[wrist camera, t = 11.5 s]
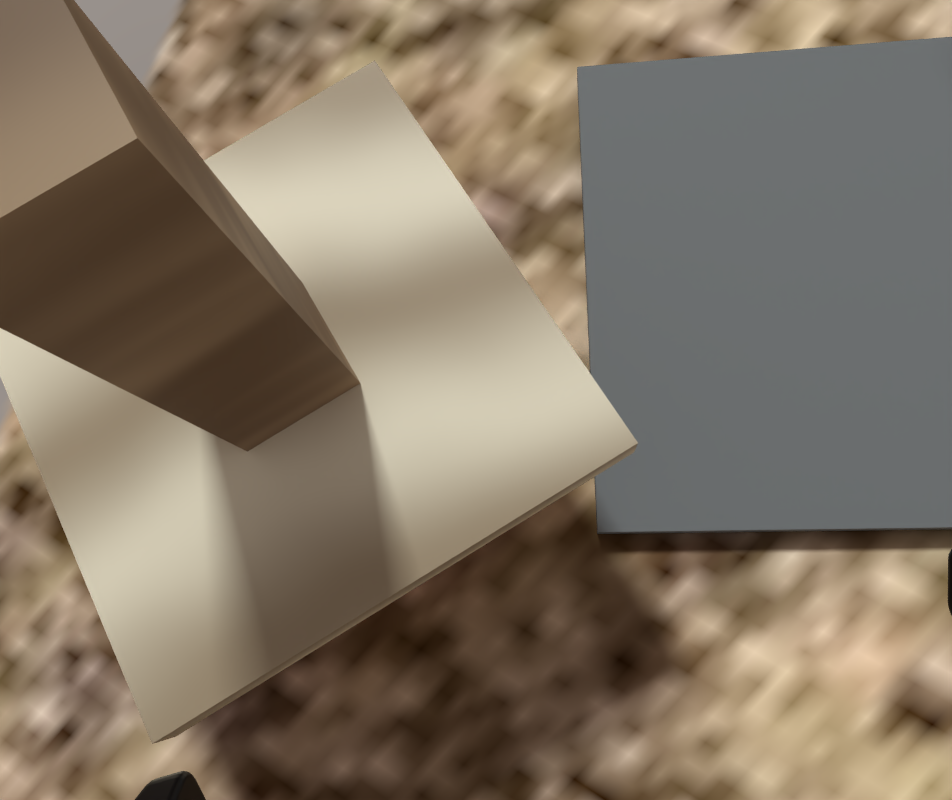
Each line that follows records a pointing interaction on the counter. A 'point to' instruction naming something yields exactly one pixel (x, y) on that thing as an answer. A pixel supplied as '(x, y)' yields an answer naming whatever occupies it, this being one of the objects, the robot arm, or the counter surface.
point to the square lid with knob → (262, 364)
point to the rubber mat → (773, 287)
